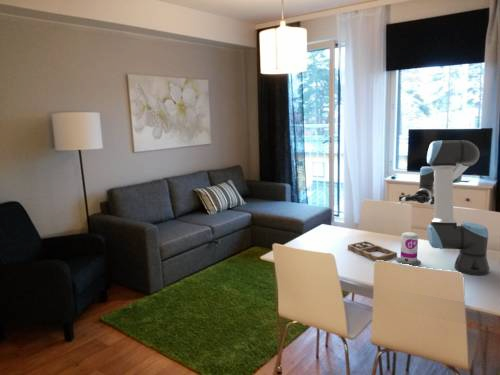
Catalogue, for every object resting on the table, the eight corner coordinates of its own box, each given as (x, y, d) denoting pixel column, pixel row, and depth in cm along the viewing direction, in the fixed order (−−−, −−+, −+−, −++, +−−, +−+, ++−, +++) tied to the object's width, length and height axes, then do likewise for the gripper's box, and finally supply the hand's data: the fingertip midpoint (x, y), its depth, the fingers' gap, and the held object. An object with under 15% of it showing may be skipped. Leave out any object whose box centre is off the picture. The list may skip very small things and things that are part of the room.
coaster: (426, 263, 206) (426, 262, 206) (409, 267, 201) (409, 266, 200) (407, 256, 216) (407, 255, 216) (391, 260, 211) (391, 259, 211)
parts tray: (396, 257, 216) (397, 252, 215) (377, 261, 209) (377, 257, 209) (366, 244, 237) (366, 240, 236) (347, 248, 231) (347, 244, 230)
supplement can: (418, 264, 204) (419, 236, 201) (401, 263, 205) (402, 235, 203) (415, 258, 212) (416, 231, 209) (399, 257, 213) (400, 231, 211)
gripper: (446, 204, 222) (440, 212, 205) (400, 200, 236) (390, 207, 218) (446, 191, 221) (441, 198, 203) (400, 187, 234) (391, 194, 217)
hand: (415, 203), depth 211 cm, fingers open, 13 cm apart
